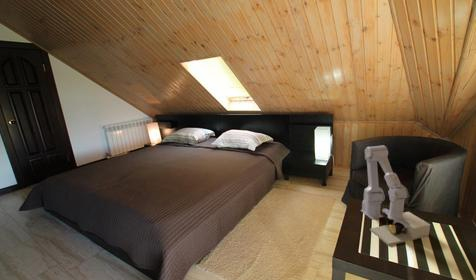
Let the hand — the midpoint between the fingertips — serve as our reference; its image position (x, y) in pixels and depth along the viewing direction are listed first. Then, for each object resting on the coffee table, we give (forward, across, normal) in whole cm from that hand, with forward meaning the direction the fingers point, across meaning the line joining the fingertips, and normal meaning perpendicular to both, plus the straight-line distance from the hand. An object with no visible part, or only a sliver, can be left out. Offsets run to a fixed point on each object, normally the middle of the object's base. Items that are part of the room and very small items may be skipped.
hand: (393, 230), depth 115 cm
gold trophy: (+1, 0, +5) cm, 5 cm away
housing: (+2, 0, +3) cm, 4 cm away
